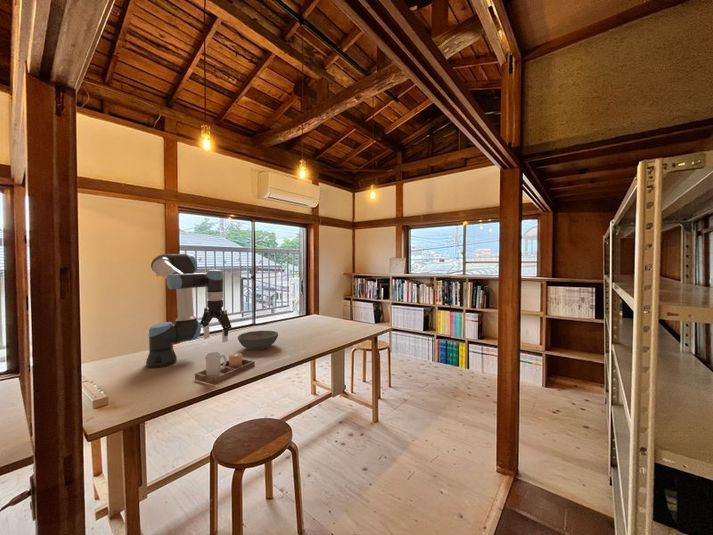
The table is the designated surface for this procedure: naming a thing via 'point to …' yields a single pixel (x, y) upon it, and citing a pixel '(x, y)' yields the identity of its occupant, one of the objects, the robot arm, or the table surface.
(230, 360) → the brown egg
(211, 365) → the mug
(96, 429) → the table surface
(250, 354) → the table surface
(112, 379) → the table surface
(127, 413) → the table surface
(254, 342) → the bowl
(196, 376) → the divided wooden tray
